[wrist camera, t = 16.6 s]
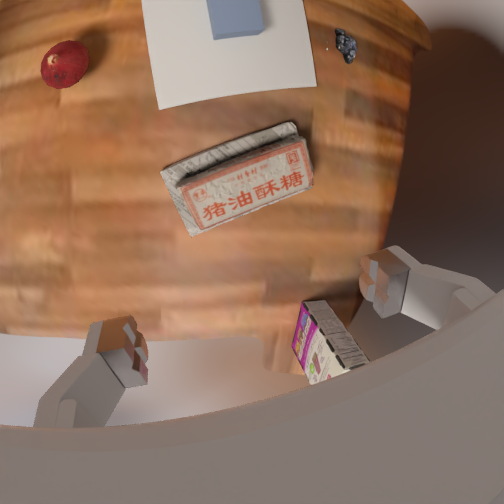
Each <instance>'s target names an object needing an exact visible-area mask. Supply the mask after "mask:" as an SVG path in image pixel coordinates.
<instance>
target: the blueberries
mask: <svg viewBox="0 0 504 504" xmlns="http://www.w3.org/2000/svg"><path fill="white" fill-rule="evenodd" d="M335 33H336V36H337V37H336V47H337V49H338V50H339V51H340V52H341V53H343V56H344V60H345V62H346V63H348V64H349V63H352V62H353V59H354V57H355V54H356V51H357V49H358V48H357V47H356V41H355V40H354V39H353V38H352V37H351V36H349V35H346V34H345V31H344V30H342V29H335ZM326 42H327V41H326ZM326 50H328V48H327V49H326Z"/></svg>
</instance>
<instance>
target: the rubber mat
mask: <svg viewBox="0 0 504 504" xmlns="http://www.w3.org/2000/svg"><path fill="white" fill-rule="evenodd" d="M259 3H260V8H261V13H262V18H263V23H264V28H265V30H264V31H262V32H261V33H260V34H259V35H254V36H243V37H235V38H227V39H219V40H213V35H212V30H211V24H210V19H209V13H208V8H207V3H206V0H142V7H143V15H144V23H145V30H146V37H147V43H148V50H149V56H150V62H151V68H152V74H153V79H154V85H155V90H156V95H157V101H158V106H159V110H162V109H166V108H170V107H174V106H178V105H183V104H187V103H192V102H197V101H202V100H207V99H212V98H218V97H223V96H229V95H236V94H242V93H250V92H257V91H266V90H275V89H286V88H298V87H315V86H317V85H316V77H315V70H314V63H313V57H312V50H311V44H310V38H309V32H308V27H307V21H306V16H305V11H304V6H303V1H302V0H259Z"/></svg>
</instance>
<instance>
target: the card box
mask: <svg viewBox="0 0 504 504" xmlns="http://www.w3.org/2000/svg"><path fill="white" fill-rule="evenodd" d="M206 3H207V8H208V13H209V19H210V24H211V30H212V35H213V40H219V39H227V38H235V37H243V36H254V35H259V34H260V33H261V32H262V31H264V30H265V28H264V23H263V18H262V13H261V8H260V3H259V0H206Z"/></svg>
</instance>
